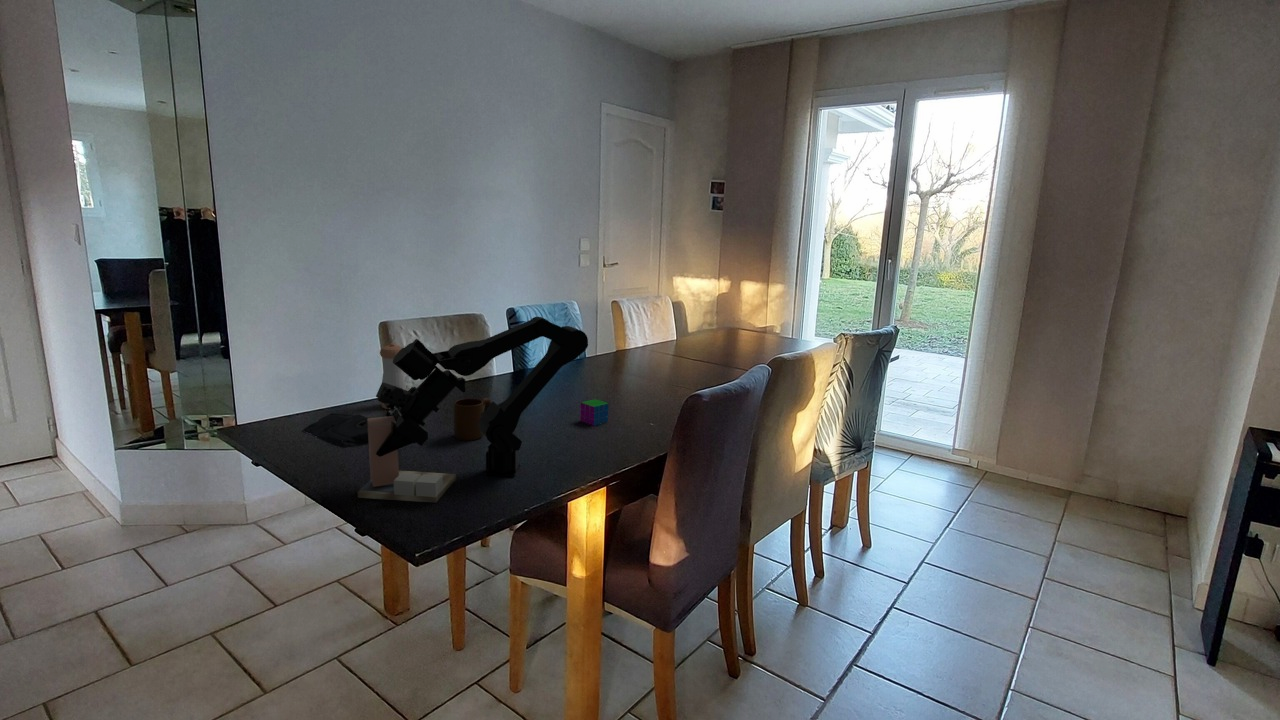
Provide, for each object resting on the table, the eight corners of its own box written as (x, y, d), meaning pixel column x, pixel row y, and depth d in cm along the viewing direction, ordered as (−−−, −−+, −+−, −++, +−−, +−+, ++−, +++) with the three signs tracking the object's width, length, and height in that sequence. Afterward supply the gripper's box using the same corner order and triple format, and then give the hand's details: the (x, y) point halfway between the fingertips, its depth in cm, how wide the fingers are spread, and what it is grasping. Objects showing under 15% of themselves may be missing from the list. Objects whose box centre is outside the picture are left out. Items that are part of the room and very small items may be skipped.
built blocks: (442, 489, 129) (442, 475, 129) (435, 497, 125) (435, 483, 125) (402, 486, 130) (402, 472, 129) (394, 494, 126) (393, 480, 125)
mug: (479, 425, 174) (479, 393, 172) (501, 431, 170) (500, 397, 168) (447, 437, 163) (447, 402, 161) (469, 443, 160) (469, 407, 158)
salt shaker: (376, 406, 186) (373, 343, 182) (393, 401, 193) (391, 340, 189) (395, 410, 184) (393, 346, 180) (412, 404, 191) (410, 342, 187)
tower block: (395, 473, 133) (393, 415, 130) (399, 482, 129) (396, 423, 126) (370, 477, 131) (367, 418, 128) (373, 486, 127) (369, 426, 124)
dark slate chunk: (351, 419, 176) (350, 402, 175) (402, 435, 164) (401, 418, 163) (297, 432, 163) (296, 415, 162) (348, 451, 152) (347, 433, 151)
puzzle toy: (608, 422, 183) (608, 403, 181) (593, 426, 178) (594, 406, 177) (594, 417, 186) (594, 399, 185) (580, 421, 182) (580, 402, 181)
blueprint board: (455, 479, 137) (455, 473, 137) (435, 502, 126) (435, 496, 125) (384, 474, 138) (384, 468, 138) (357, 497, 126) (357, 491, 126)
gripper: (393, 360, 135) (339, 414, 132) (408, 380, 119) (348, 442, 116) (432, 392, 140) (381, 445, 137) (451, 415, 125) (395, 475, 122)
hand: (376, 450), depth 128 cm, fingers closed on tower block, 5 cm apart
